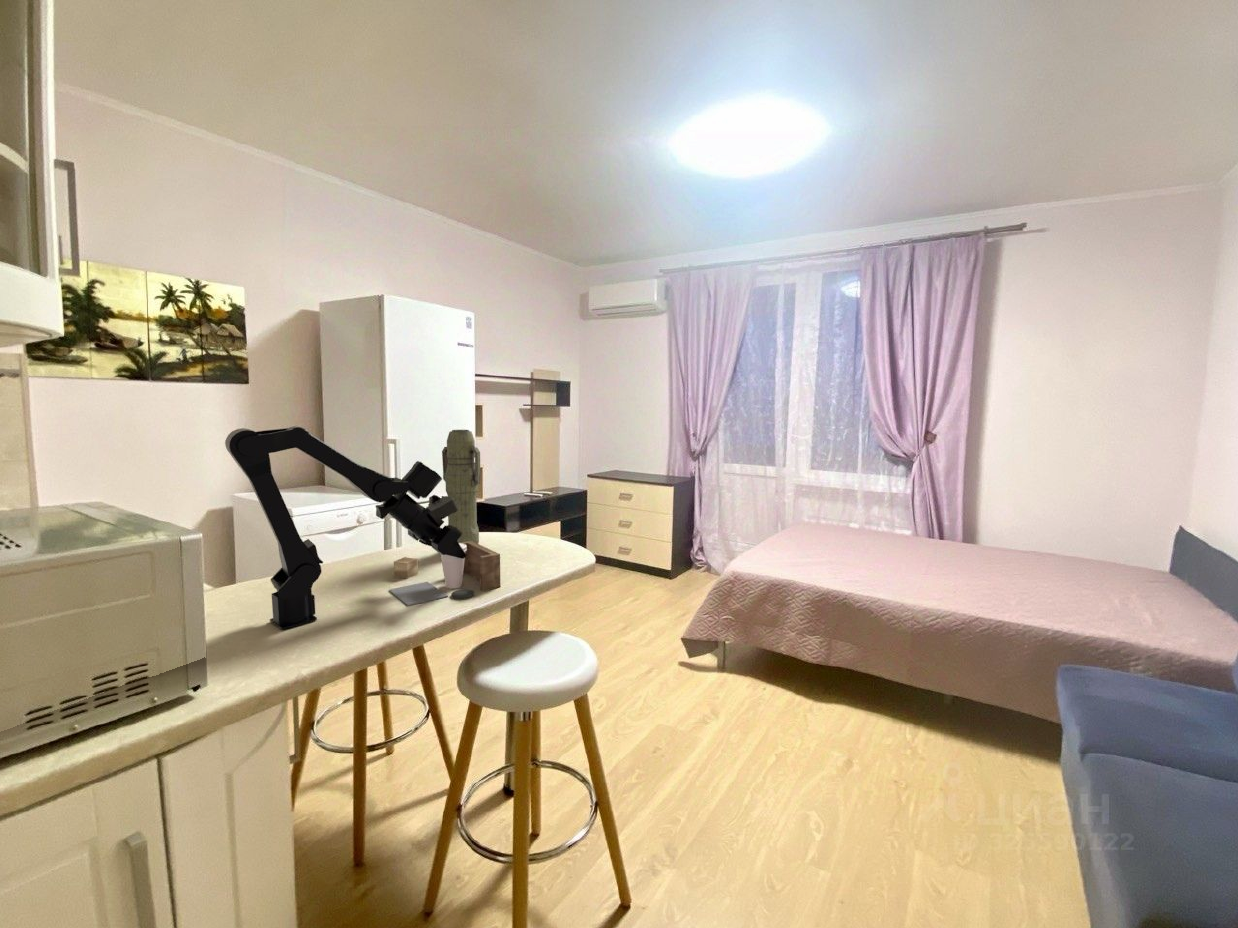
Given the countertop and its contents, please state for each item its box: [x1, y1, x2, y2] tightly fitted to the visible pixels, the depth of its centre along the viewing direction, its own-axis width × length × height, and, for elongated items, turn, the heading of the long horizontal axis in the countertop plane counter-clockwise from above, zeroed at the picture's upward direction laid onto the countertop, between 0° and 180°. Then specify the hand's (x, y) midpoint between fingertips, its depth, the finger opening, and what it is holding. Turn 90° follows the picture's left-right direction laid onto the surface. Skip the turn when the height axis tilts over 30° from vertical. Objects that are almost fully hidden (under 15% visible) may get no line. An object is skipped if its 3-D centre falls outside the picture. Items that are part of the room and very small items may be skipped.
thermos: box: [441, 429, 481, 544], centre depth 161 cm, size 9×12×35 cm
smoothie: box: [440, 543, 467, 590], centre depth 133 cm, size 6×6×14 cm
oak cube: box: [393, 556, 419, 580], centre depth 141 cm, size 4×4×4 cm
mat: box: [388, 581, 449, 607], centre depth 129 cm, size 9×12×1 cm
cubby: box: [462, 541, 501, 592], centre depth 138 cm, size 5×15×8 cm, turn 40°
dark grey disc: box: [450, 588, 475, 601], centre depth 128 cm, size 5×5×1 cm
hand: (458, 553), depth 134 cm, fingers closed on smoothie, 6 cm apart
